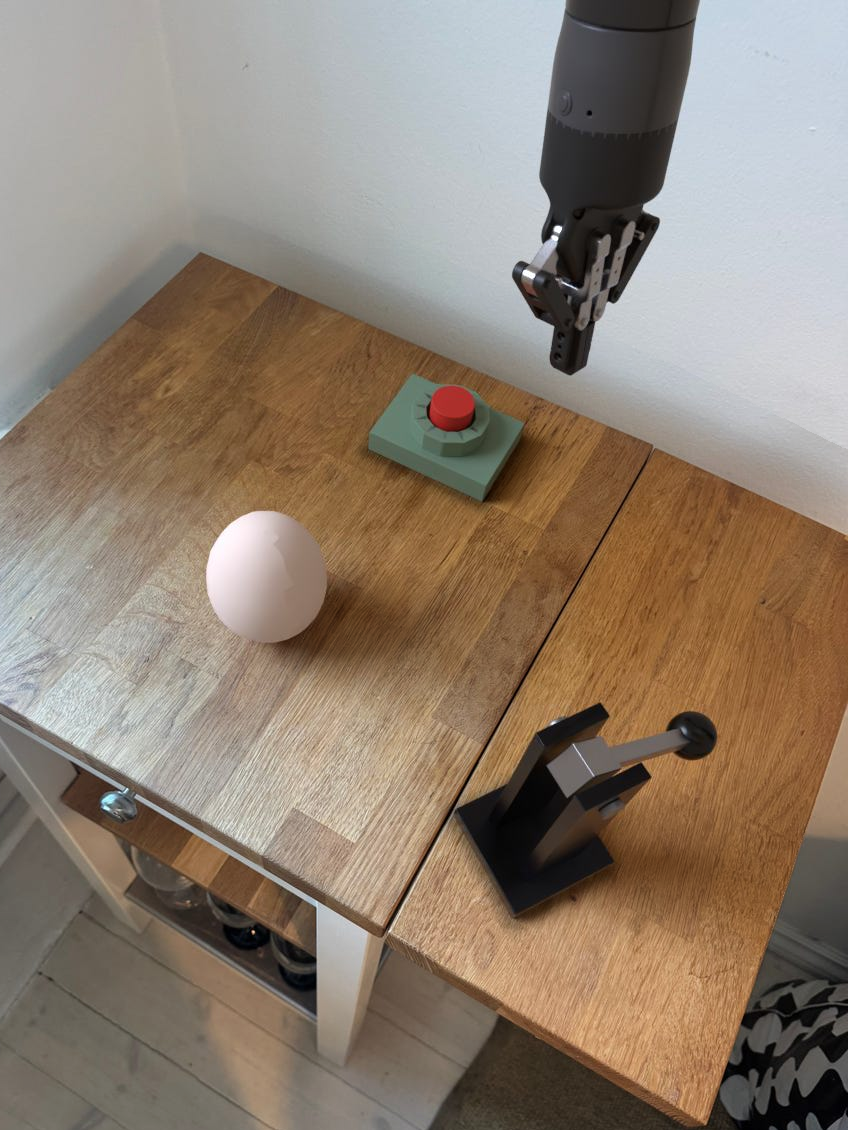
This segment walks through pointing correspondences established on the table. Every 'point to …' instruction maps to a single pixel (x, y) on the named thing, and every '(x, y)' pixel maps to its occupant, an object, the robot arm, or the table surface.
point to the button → (452, 408)
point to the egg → (266, 577)
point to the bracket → (546, 819)
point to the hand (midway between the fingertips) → (567, 367)
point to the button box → (445, 440)
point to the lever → (631, 752)
